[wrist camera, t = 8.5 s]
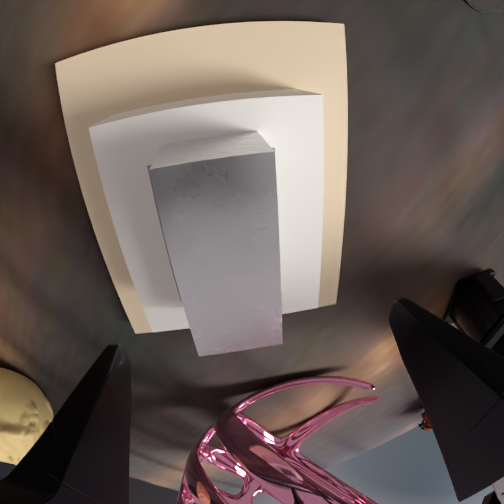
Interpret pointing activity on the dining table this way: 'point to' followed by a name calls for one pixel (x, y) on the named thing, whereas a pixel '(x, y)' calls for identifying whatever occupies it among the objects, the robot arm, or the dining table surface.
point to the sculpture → (20, 415)
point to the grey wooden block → (223, 238)
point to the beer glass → (487, 6)
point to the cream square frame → (208, 125)
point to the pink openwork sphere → (269, 455)
